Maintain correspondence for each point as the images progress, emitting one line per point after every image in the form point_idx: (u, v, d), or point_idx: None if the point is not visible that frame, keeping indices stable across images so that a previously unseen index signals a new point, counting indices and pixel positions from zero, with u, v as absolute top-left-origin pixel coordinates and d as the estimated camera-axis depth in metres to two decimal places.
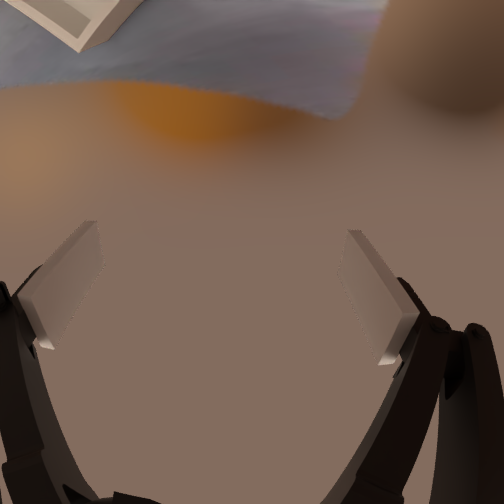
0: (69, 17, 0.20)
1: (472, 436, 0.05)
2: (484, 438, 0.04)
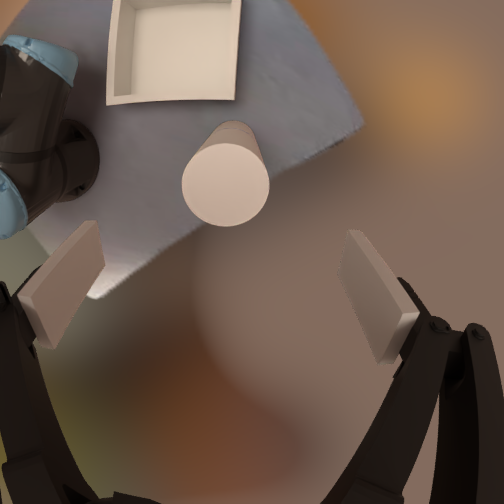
0: None
1: (472, 436, 0.05)
2: (484, 438, 0.04)
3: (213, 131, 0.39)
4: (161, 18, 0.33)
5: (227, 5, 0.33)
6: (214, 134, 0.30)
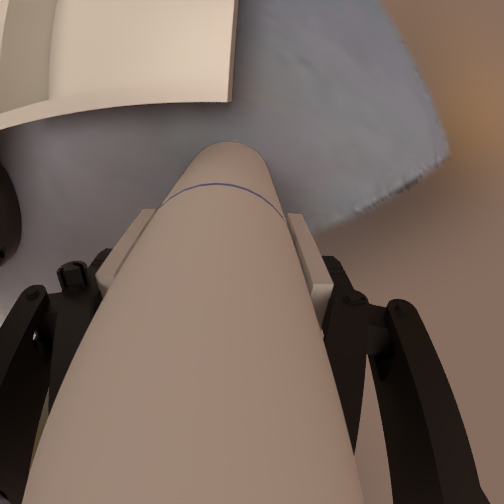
0: None
1: (418, 420, 0.06)
2: (432, 420, 0.05)
3: None
4: None
5: None
6: (161, 222, 0.10)
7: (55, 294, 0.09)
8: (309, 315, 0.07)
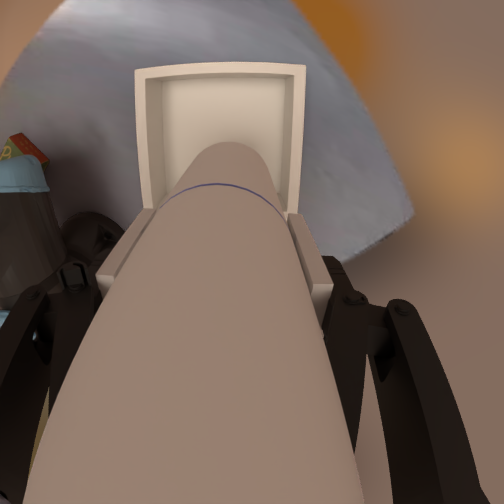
0: (287, 112, 0.32)
1: (418, 420, 0.06)
2: (432, 420, 0.05)
3: None
4: (195, 96, 0.33)
5: (277, 81, 0.33)
6: (161, 223, 0.10)
7: (55, 294, 0.09)
8: (309, 315, 0.07)
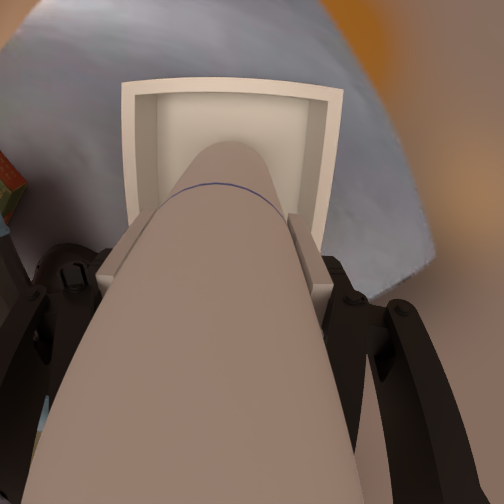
0: (312, 144, 0.26)
1: (418, 420, 0.06)
2: (432, 420, 0.05)
3: None
4: (198, 115, 0.28)
5: (299, 102, 0.27)
6: (160, 222, 0.10)
7: (55, 294, 0.09)
8: (309, 315, 0.07)
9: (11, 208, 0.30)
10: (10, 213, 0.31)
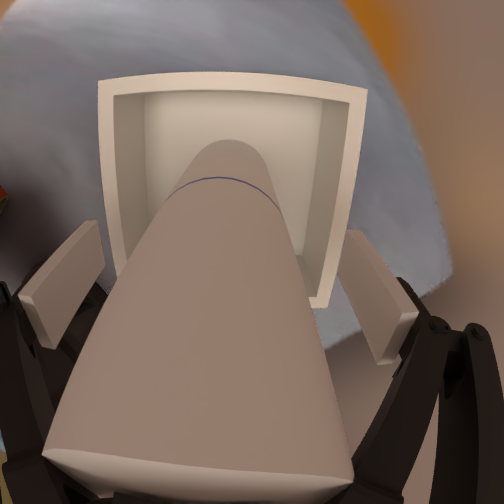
0: (327, 154, 0.22)
1: (472, 437, 0.05)
2: (484, 438, 0.04)
3: None
4: (192, 118, 0.24)
5: (311, 103, 0.23)
6: (169, 210, 0.11)
7: None
8: (299, 286, 0.09)
9: None
10: None
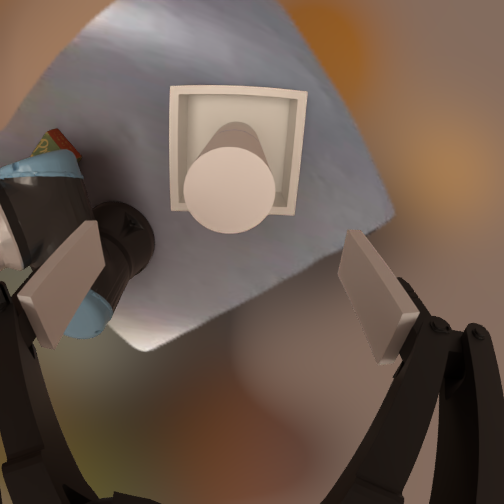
0: (290, 127, 0.40)
1: (472, 436, 0.05)
2: (484, 438, 0.04)
3: None
4: (215, 109, 0.42)
5: (283, 101, 0.41)
6: (217, 136, 0.29)
7: None
8: (261, 151, 0.27)
9: None
10: None
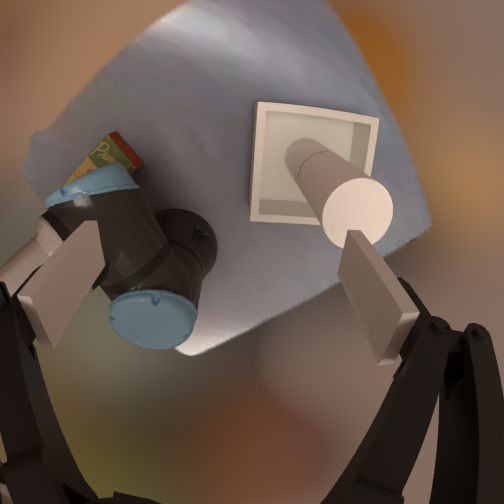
0: (358, 148, 0.43)
1: (472, 436, 0.05)
2: (484, 438, 0.04)
3: (297, 149, 0.41)
4: (289, 125, 0.45)
5: (349, 121, 0.44)
6: (321, 159, 0.32)
7: None
8: None
9: None
10: None
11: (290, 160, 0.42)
